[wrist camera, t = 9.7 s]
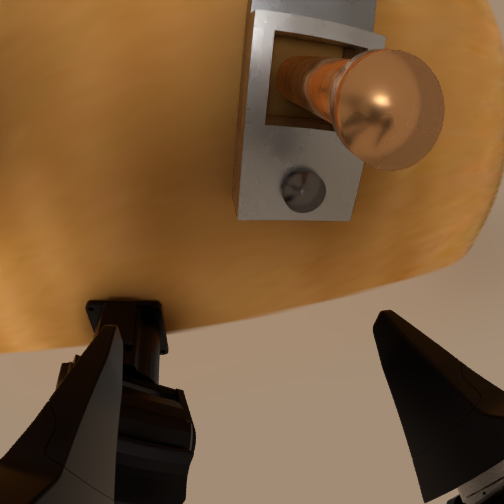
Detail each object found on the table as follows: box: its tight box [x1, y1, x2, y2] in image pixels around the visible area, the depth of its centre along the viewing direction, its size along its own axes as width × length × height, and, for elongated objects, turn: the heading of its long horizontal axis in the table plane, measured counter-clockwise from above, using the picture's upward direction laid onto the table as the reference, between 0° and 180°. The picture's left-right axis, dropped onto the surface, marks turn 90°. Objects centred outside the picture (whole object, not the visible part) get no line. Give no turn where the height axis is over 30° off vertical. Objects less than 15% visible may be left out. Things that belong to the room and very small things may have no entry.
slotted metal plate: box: [232, 0, 386, 221], centre depth 15 cm, size 17×7×4 cm, turn 175°
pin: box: [276, 49, 444, 171], centre depth 12 cm, size 4×4×10 cm
